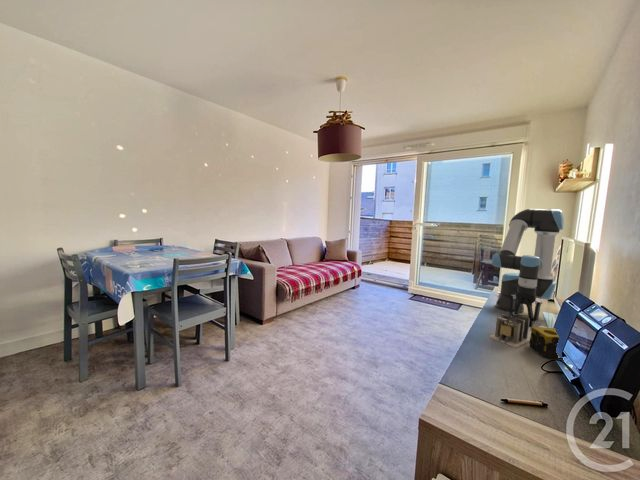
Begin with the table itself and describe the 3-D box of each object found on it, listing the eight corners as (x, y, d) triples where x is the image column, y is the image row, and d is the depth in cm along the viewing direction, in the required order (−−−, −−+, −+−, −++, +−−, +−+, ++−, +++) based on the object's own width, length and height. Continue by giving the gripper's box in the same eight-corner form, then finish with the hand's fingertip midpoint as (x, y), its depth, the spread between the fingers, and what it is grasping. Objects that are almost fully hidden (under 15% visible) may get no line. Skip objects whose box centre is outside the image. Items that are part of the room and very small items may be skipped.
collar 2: (505, 332, 142) (507, 311, 141) (527, 340, 134) (529, 318, 133) (504, 332, 141) (507, 312, 140) (526, 340, 133) (528, 318, 132)
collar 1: (499, 334, 139) (502, 313, 137) (521, 342, 131) (524, 320, 129) (498, 335, 138) (501, 314, 137) (520, 343, 130) (523, 321, 129)
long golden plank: (520, 324, 145) (521, 316, 144) (530, 327, 141) (531, 319, 140) (499, 333, 133) (500, 324, 132) (510, 337, 129) (511, 328, 128)
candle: (551, 348, 126) (554, 327, 125) (569, 360, 116) (572, 337, 115) (528, 346, 127) (530, 326, 126) (543, 358, 117) (546, 335, 116)
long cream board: (524, 321, 157) (525, 316, 157) (550, 329, 147) (551, 324, 147) (489, 337, 135) (490, 331, 135) (517, 348, 125) (517, 341, 125)
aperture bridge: (497, 336, 137) (499, 316, 135) (518, 344, 129) (520, 323, 128) (494, 337, 135) (496, 317, 134) (515, 345, 128) (518, 324, 127)
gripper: (504, 282, 144) (499, 325, 146) (545, 291, 129) (539, 339, 132) (511, 281, 148) (506, 322, 150) (551, 289, 133) (545, 335, 136)
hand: (521, 330), depth 141 cm, fingers closed on long golden plank, 4 cm apart
